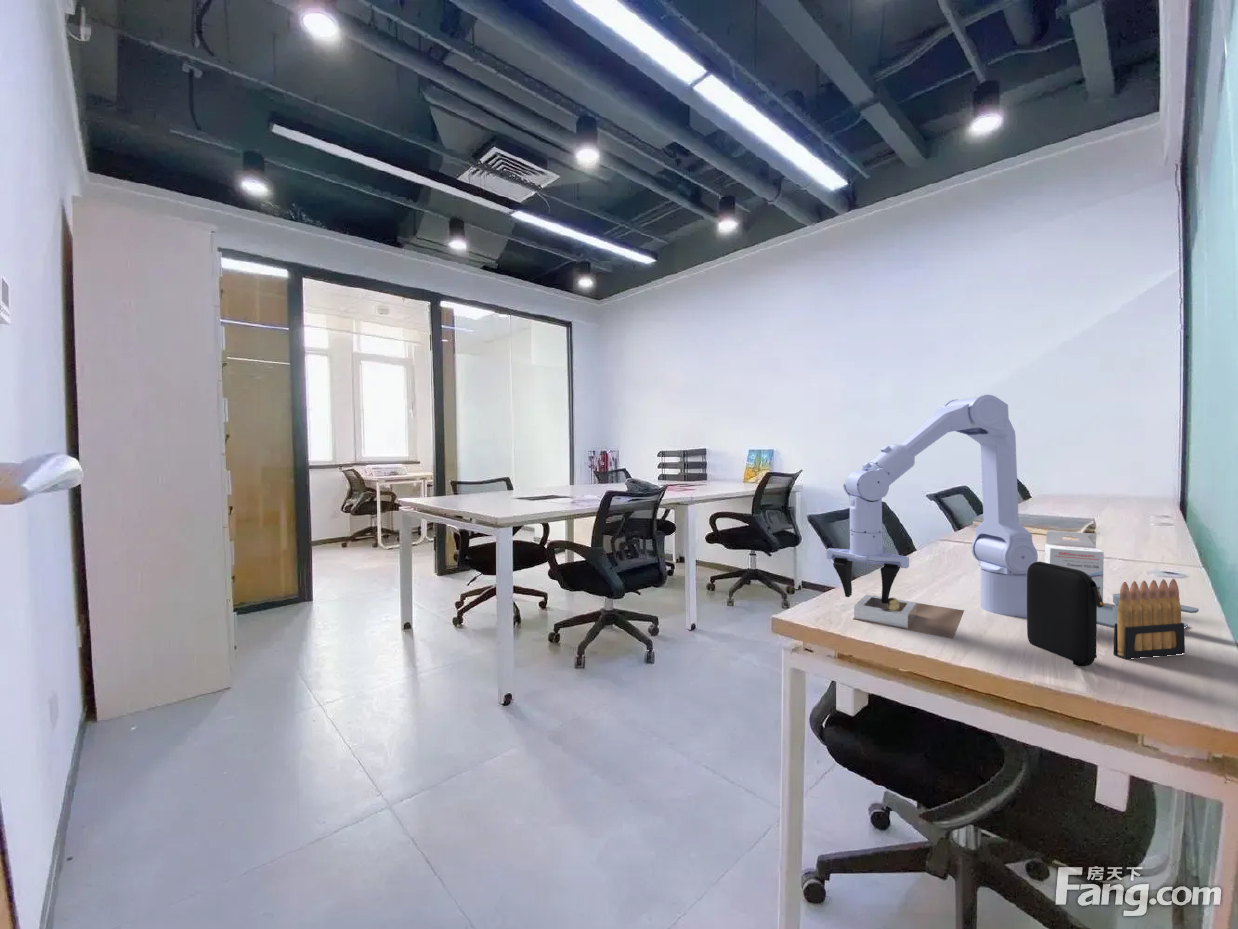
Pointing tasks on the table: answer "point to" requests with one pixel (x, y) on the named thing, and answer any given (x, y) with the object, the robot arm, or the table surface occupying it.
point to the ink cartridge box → (1076, 554)
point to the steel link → (885, 612)
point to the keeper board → (933, 620)
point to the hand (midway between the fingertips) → (866, 598)
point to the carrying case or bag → (1062, 611)
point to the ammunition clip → (1149, 621)
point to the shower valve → (1109, 614)
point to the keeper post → (893, 604)
